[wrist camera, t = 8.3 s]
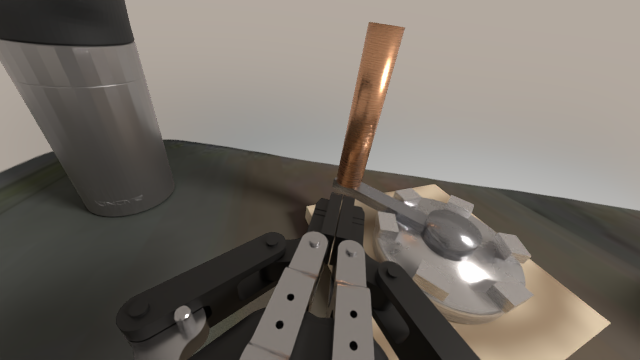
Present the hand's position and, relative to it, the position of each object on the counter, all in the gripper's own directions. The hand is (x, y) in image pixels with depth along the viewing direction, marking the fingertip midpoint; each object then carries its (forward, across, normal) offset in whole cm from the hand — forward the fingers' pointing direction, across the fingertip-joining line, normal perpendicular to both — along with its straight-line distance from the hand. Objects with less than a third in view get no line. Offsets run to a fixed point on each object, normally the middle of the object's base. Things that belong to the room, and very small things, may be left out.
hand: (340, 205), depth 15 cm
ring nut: (+9, -8, +10) cm, 16 cm away
